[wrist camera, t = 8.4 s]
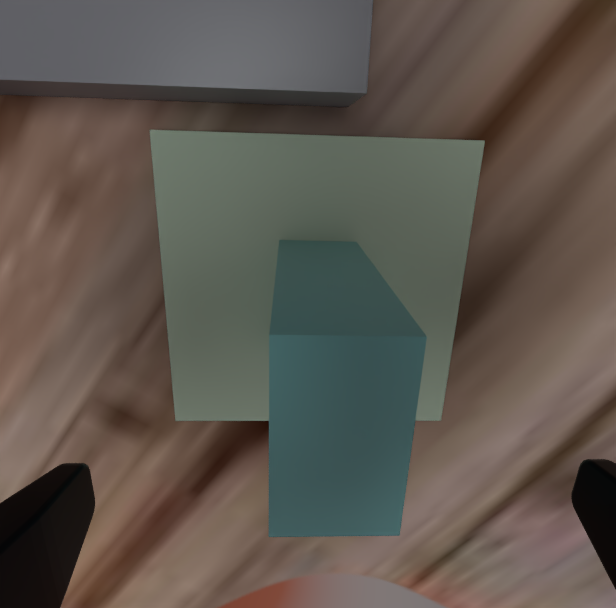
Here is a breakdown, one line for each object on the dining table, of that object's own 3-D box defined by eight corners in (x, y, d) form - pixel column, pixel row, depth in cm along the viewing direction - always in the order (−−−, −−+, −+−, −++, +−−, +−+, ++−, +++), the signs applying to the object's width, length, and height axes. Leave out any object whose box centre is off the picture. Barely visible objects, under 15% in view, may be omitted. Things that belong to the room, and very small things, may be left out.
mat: (478, 140, 16) (484, 140, 16) (436, 413, 20) (441, 420, 20) (154, 130, 16) (149, 129, 15) (178, 413, 20) (175, 420, 19)
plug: (356, 241, 17) (426, 337, 8) (348, 357, 18) (399, 535, 10) (279, 240, 16) (269, 334, 8) (278, 356, 18) (269, 536, 10)
